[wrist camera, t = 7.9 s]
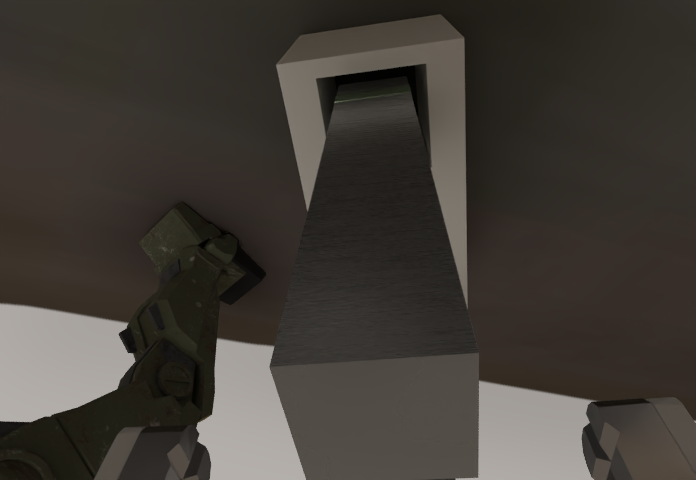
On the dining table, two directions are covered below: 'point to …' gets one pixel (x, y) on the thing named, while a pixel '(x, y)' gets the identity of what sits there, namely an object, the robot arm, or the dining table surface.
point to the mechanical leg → (146, 356)
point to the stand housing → (432, 100)
